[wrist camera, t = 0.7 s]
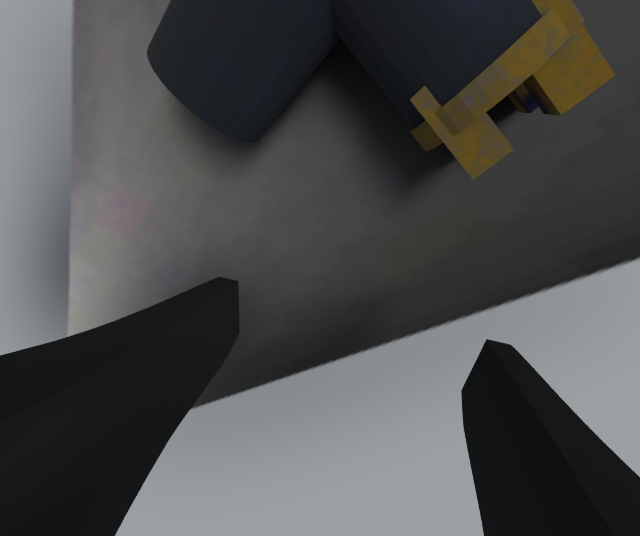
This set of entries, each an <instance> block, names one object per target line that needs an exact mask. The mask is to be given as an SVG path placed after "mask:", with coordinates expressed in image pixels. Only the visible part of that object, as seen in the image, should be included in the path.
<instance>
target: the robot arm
mask: <svg viewBox="0 0 640 536" xmlns="http://www.w3.org/2000/svg"><path fill="white" fill-rule="evenodd" d="M238 335H239V295H238V281H235V280H230V279H226V278H222V277H219V278H216V279H213V280H211V281H208V282H206V283H203V284H201V285H199V286H197V287H194V288H192V289H190V290H188V291H185V292H183V293H181V294H179V295H176V296H174V297H172V298H170V299H167V300H165V301H163V302H160V303H158V304H156V305H153V306H151V307H149V308H146V309H144V310H141V311H139V312H136V313H134V314H131V315H128V316H126V317H123V318H121V319H118V320H116V321H113V322H111V323H108V324H105V325H102V326H100V327H97V328H94V329H91V330H88V331H85V332H82V333H79V334H75V335H72V336H69V337H66V338H63V339H60V340H57V341H53V342H50V343H46V344H42V345H38V346H34V347H31V348H27V349H23V350H19V351H16V352H12V353H8V354H4V355H1V356H0V536H115V534H116V532H117V530H118V528H119V527H120V525H121V523H122V521H123V519H124V517H125V515H126V513H127V512H128V510H129V508H130V506H131V505H132V503H133V501H134V499H135V498H136V496H137V494H138V492H139V490H140V489H141V487H142V485H143V483H144V481H145V480H146V478H147V476H148V474H149V473H150V471H151V469H152V467H153V466H154V464H155V463H156V461H157V459H158V457H159V456H160V454H161V452H162V451H163V449H164V447H165V445H166V444H167V442H168V440H169V439H170V437H171V436H172V434H173V433H174V431H175V430H176V428H177V427H178V425H179V424H180V422H181V421H182V420H183V418H184V417H185V415H186V414H187V413H188V411H189V410H190V409H191V407H192V406H193V404H194V403H195V402H196V400H197V399H198V397H199V396H200V395H201V393H202V392H203V391H204V389H205V388H206V386H207V385H208V384H209V382H210V381H211V379H212V378H213V377H214V375H215V374H216V372H217V371H218V369H219V368H220V367H221V365H222V364H223V362H224V361H225V359H226V357H227V355H228V354H229V352H230V350H231V348H232V346H233V344H234V342H235V340H236V338H237V337H238ZM461 392H462V413H463V425H464V432H465V438H466V443H467V448H468V453H469V459H470V464H471V469H472V474H473V479H474V484H475V489H476V495H477V499H478V504H479V509H480V515H481V520H482V526H483V532H484V536H640V477H639V476H638V475H637V474H636V473H635V472H633V471H632V470H631V469H630V468H629V467H628V466H627V465H626V464H625V463H624V462H623V461H622V460H621V459H620V458H619V457H618V456H617V455H616V454H615V453H614V452H613V451H612V450H611V449H610V448H609V447H608V446H607V445H606V444H605V443H604V442H603V441H602V440H601V439H600V438H599V437H598V436H597V435H596V434H595V433H594V432H593V431H592V430H591V429H590V428H589V427H588V426H587V425H586V424H585V423H584V422H583V421H582V420H581V419H580V418H579V417H578V416H577V415H576V414H575V413H574V412H573V411H572V409H571V408H570V407H569V406H568V405H567V404H566V403H565V402H564V401H563V400H562V399H561V398H560V397H559V395H558V394H557V393H556V392H555V391H554V390H553V389H552V388H551V387H550V386H549V385H548V384H547V382H546V381H545V380H544V379H543V378H542V377H541V376H540V375H539V374H538V373H537V372H536V371H535V369H534V368H532V366H531V365H530V364H529V363H528V362H527V361H526V360H525V359H524V358H523V357H522V356H521V354H520V353H519V352H518V351H517V350H516V349H515V348H514V347H512V346H511V345H509V344H505V343H501V342H496V341H492V340H488V339H487V340H486V342H485V344H484V346H483V348H482V350H481V352H480V354H479V356H478V358H477V360H476V362H475V364H474V366H473V368H472V370H471V372H470V374H469V376H468V378H467V380H466V382H465V384H464V387H463V389H462V391H461Z"/></svg>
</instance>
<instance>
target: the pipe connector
mask: <svg viewBox="0 0 640 536" xmlns="http://www.w3.org/2000/svg"><path fill="white" fill-rule="evenodd" d="M584 20H585V19H584V18H583V16H582V15H581V13H580V11H579V10H578V8H577V7H576V5H575V4H574V2H573V1H572V0H171V1H170V3H169V5H168V7H167V9H166V11H165V13H164V16H163V18H162V20H161V22H160V24H159V26H158V28H157V30H156V32H155V34H154V36H153V38H152V40H151V43H150V45H149V47H148V50H147V55H148V59H149V62H150V64H151V66H152V68H153V70H154V72H155V73H156V74H157V76H158V77H159V79H160V80H161V81H162V83H163V84H164V85H165V86H166V87H167V88H168V90H169V91H170V92H171V93H172V94H173V95H174V96H175V97H176V98H177V99H178V100H179V101H180V102H181V103H182V104H183V105H184V106H186V107H187V108H188V109H189V110H190V111H192V112H193V113H194V114H195V115H196V116H198V117H199V118H200V119H202V120H203V121H205V122H206V123H207V124H209V125H210V126H212V127H214V128H215V129H217V130H218V131H220V132H222V133H224V134H226V135H228V136H230V137H232V138H235V139H237V140H240V141H244V142H256V141H258V140H259V139H260V138H261V137H262V136H263V134H264V133H265V132H266V131H267V129H268V128H269V127H270V126H271V124H272V123H273V122H274V121H275V119H276V118H277V117H278V116H279V114H280V113H281V112H282V111H283V109H284V108H285V107H286V106H287V104H288V103H289V102H290V101H291V99H292V98H293V97H294V96H295V94H296V93H297V92H298V91H299V89H300V88H301V87H302V86H303V84H304V83H305V82H306V81H307V80H308V78H309V77H310V76H311V75H312V73H313V72H314V71H315V70H316V68H317V67H318V66H319V65H320V63H321V62H322V61H323V60H324V58H325V57H326V56H327V55H328V53H329V52H330V51H331V50H332V48H333V47H334V46H335V45H336V43H337V42H338V41H339V40H340V38H341V40H342V41H343V42H344V43H345V45H346V46H347V47H348V48H349V50H350V51H351V52H352V53H353V55H354V56H355V57H356V58H357V60H358V61H359V62H360V63H361V65H362V66H363V67H364V68H365V69H366V71H367V72H368V73H369V74H370V76H371V77H372V78H373V79H374V81H375V82H376V83H377V84H378V86H379V87H380V88H381V89H382V91H383V92H384V93H385V94H386V96H387V97H388V98H389V99H390V100H391V102H392V103H393V104H394V105H395V107H396V108H397V109H398V110H399V112H400V113H401V114H402V115H403V117H404V118H405V119H406V120H407V122H408V123H409V124H410V125H411V127H412V129H411V130H410V133H411V134H412V135H413V136H414V138H415V139H416V140H417V141H418V143H419V144H420V145H421V146H422V147H423V149H424V150H425V151H429V150H431V149H433V148H435V147H437V146H439V145H441V144H442V143H444V144H445V145H446V147H447V148H448V149H449V150H450V152H451V153H452V154H453V155H454V157H455V158H456V159H457V160H458V162H459V163H460V164H461V165H462V167H463V168H464V169H465V170H466V172H467V173H468V174H469V175H470V177H471V178H472V179H473V180H474V179H475V178H477V177H478V176H479V175H481V174H482V173H483V172H485V171H486V170H488V169H489V168H490V167H492V166H493V165H494V164H496V163H497V162H498V161H500V160H501V159H502V158H504V157H505V156H506V155H508V154H509V153H511V152H512V151H513V150H514V149H513V147H512V146H511V145H510V143H509V142H508V141H507V139H506V138H505V137H504V135H503V134H502V133H501V131H500V130H499V129H498V127H497V126H496V125H495V123H494V122H493V121H492V119H491V118H490V117H489V115H488V114H487V113H486V112H487V111H488V110H489V109H491V108H492V107H493V106H495V105H496V104H497V103H498V102H499V101H501V100H502V99H503V98H504V97H506V96H508V97H509V98H510V100H511V101H512V103H513V104H514V105H515V107H516V108H517V110H518V111H519V112H525V113H531V112H532V111H534V110H535V109H536V108H537V107H539V108H540V109H541V110H542V112H543V113H544V114H552V115H562V114H563V113H565V112H566V111H567V110H569V109H570V108H572V107H573V106H574V105H576V104H577V103H578V102H580V101H581V100H582V99H584V98H585V97H586V96H588V95H589V94H591V93H592V92H593V91H595V90H596V89H597V88H599V87H600V86H601V85H603V84H604V83H605V82H607V81H608V80H610V79H611V78H612V77H614V76H615V74H614V72H613V71H612V69H611V68H610V66H609V64H608V63H607V61H606V60H605V58H604V57H603V55H602V54H601V52H600V50H599V49H598V47H597V46H596V44H595V43H594V41H593V40H592V38H591V36H590V35H589V33H588V32H587V30H586V29H585V27H584V26H583V22H584Z"/></svg>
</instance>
